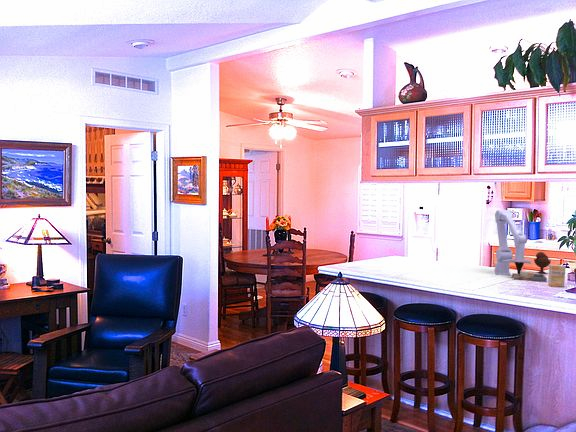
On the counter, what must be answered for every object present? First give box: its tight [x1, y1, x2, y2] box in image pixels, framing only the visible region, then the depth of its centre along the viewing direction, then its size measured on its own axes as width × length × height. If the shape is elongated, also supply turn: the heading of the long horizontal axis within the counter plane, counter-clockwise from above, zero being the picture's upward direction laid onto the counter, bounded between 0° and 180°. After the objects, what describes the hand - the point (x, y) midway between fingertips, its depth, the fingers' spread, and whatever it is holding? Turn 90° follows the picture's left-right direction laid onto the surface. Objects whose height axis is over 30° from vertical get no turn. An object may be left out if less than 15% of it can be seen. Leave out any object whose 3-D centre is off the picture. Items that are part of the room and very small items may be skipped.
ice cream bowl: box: [533, 251, 552, 275], centre depth 396 cm, size 11×11×15 cm
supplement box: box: [547, 263, 566, 288], centre depth 348 cm, size 8×5×13 cm, turn 82°
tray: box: [530, 273, 548, 283], centre depth 371 cm, size 9×15×2 cm, turn 163°
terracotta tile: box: [526, 271, 535, 277], centre depth 372 cm, size 4×4×2 cm
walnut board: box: [511, 273, 532, 282], centre depth 373 cm, size 10×14×2 cm
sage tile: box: [520, 270, 528, 276], centre depth 373 cm, size 4×4×2 cm
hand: (518, 273), depth 374 cm, fingers closed
